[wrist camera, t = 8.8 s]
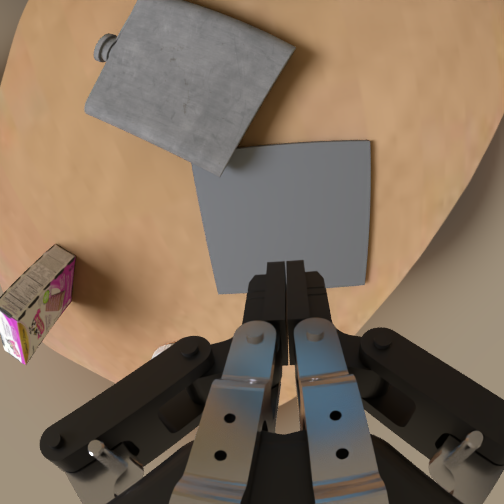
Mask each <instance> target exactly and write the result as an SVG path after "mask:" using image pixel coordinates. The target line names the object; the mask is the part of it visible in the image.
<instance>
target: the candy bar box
mask: <svg viewBox="0 0 504 504" xmlns="http://www.w3.org/2000/svg"><path fill="white" fill-rule="evenodd" d="M75 259H76V256H75V255H73V254H72V253H70V252H68V251H66V250H64V249H63V248H61V247H59V246H58V245H56V244H54V245H53V246H52V247H51V248H50V249H49V250H48V251H46V252H45V253H44V254H43V255H42V256H41V257H40V258H39V259H38V260H37V261H36V262H35V263H34V264H32V265H31V266H30V267H29V268H28V269H27V270H26V271H25V272H24V273H23V274H22V275H21V276H20V277H19V278H18V279H17V280H16V281H15V282H14V283H13V284H12V285H11V286H10V287H9V288H8V289H7V290H6V291H5V292H4V294H3V295H2V296H1V297H0V335H1V338H2V343H3V346H4V349H5V351H7V352H8V353H9V354H11V355H12V356H13V357H15V358H16V359H18V360H19V361H20V362H21V363H23V364H25V365H27V363H28V361H29V360H30V358H31V357H32V355H33V354H34V352H35V351H36V349H37V348H38V346H39V345H40V344H41V342H42V341H43V339H44V338H45V336H46V335H47V333H48V332H49V330H50V329H51V328H52V327H53V325H54V324H55V322H56V321H57V320H58V318H59V317H60V316H61V314H62V313H63V312H64V310H65V309H66V308H67V306H68V305H69V304H70V303H71V297H72V284H73V275H74V266H75Z"/></svg>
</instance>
